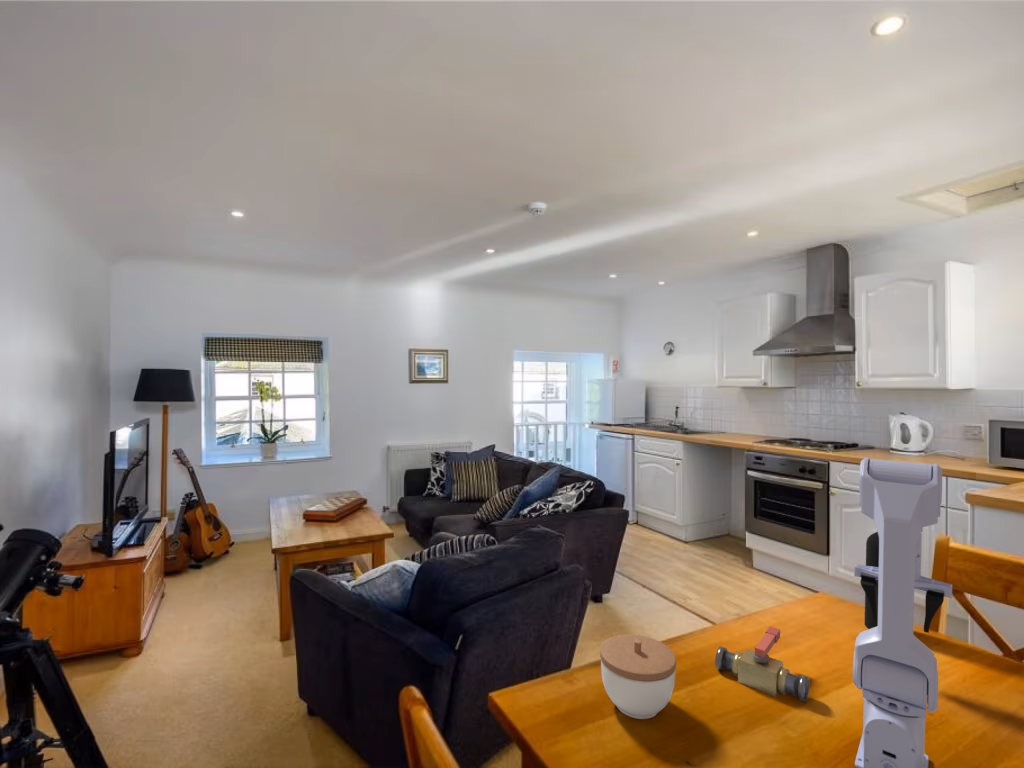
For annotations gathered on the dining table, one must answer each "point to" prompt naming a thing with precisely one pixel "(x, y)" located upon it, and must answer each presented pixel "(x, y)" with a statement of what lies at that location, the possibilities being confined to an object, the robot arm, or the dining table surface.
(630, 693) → the lidded bowl
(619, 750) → the dining table surface
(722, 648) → the pipe valve
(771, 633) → the lever
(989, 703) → the dining table surface
